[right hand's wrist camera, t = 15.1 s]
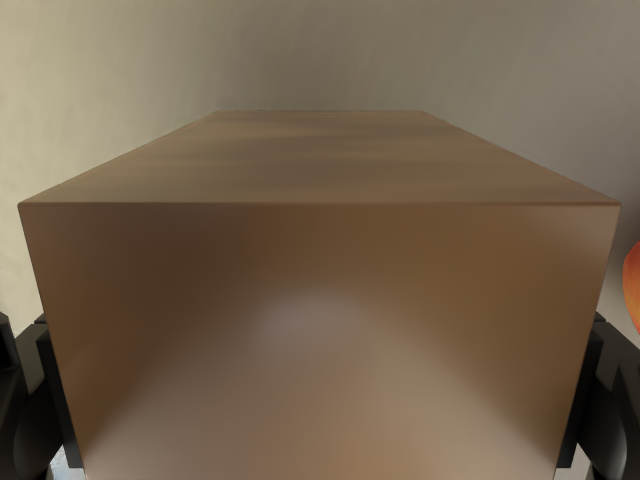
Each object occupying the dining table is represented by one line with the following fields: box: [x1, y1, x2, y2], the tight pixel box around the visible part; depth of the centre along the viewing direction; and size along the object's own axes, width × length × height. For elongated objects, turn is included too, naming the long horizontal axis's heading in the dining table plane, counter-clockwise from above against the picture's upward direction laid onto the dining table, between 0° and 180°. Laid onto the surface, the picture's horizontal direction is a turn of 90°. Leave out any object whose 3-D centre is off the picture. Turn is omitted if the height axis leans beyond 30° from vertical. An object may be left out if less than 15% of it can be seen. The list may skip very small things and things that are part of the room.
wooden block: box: [18, 111, 622, 480], centre depth 13 cm, size 8×8×12 cm
